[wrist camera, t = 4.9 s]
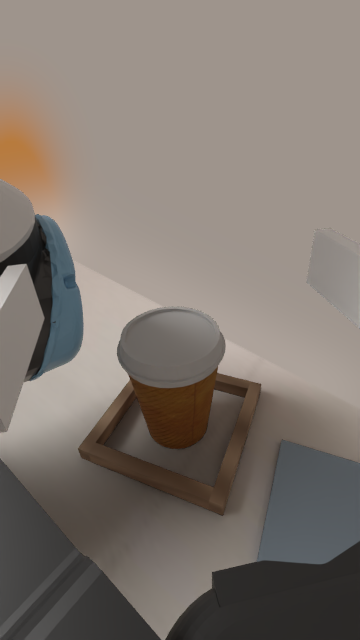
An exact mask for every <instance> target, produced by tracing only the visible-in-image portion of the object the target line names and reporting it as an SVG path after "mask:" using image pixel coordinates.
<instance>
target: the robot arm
mask: <svg viewBox="0 0 360 640" xmlns="http://www.w3.org/2000/svg"><path fill="white" fill-rule="evenodd" d="M307 283H308V284H309V285H310V286H311V287H312V288H313V289H315V290H316V291H317V292H318V293H319V294H320V295H322V296H323V297H324V298H325V299H326V300H327V301H328V302H329V303H331V304H332V305H333V306H334V307H335V308H337V310H339V311H340V312H341V313H342V314H343V315H344V316H346V317H347V318H348V319H349V320H350V321H351V322H352V323H354V324H355V325H356V326H357V327H358V328H359V329H360V243H358V242H356V241H354V240H352V239H350V238H348V237H347V236H345V235H343V234H341V233H339V232H337V231H335V230H333V229H331V228H324V229H317V230H315V233H314V239H313V245H312V251H311V258H310V264H309V270H308V276H307ZM82 340H83V310H82V302H81V296H80V291H79V288H78V286H77V284H76V282H75V269H74V264H73V260H72V257H71V254H70V251H69V248H68V246H67V243H66V240H65V238H64V236H63V234H62V232H61V230H60V228H59V226H58V225H57V223H56V222H55V221H54V220H53V219H51V218H50V217H48V216H44V215H43V216H41V215H39V214H37V215H35V213H34V210H33V206H32V203H31V202H30V200H29V198H28V197H27V196H26V195H25V194H24V193H23V192H21V191H20V190H19V189H17V188H15V187H14V186H12V185H10V184H9V183H7V182H5V181H3V180H2V179H0V433H1V432H7V430H8V427H9V424H10V421H11V418H12V415H13V412H14V409H15V406H16V403H17V400H18V397H19V394H20V391H21V388H22V385H23V382H26V381H32V380H35V379H37V378H39V377H40V376H41V375H42V374H43V373H45V372H47V371H50V370H52V369H54V368H57V367H59V366H61V365H64V364H66V363H68V362H70V361H71V360H72V359H73V358H74V357H75V356H76V355H77V353H78V352H79V350H80V347H81V344H82ZM0 640H161V639H160V638H159V637H158V636H157V634H156V633H155V632H154V631H153V630H152V629H151V627H150V626H149V625H148V624H147V623H146V622H145V620H144V619H143V618H142V617H141V616H140V615H139V613H138V612H137V611H136V610H135V609H134V608H133V606H132V605H131V604H130V603H129V602H128V601H127V599H126V598H125V597H124V596H123V595H122V594H121V593H120V591H119V590H118V589H117V588H116V587H115V586H114V584H113V583H112V582H111V581H110V580H109V579H108V577H107V576H106V575H105V574H104V573H103V572H102V570H101V569H100V568H99V567H98V566H97V565H96V564H95V563H94V562H93V561H92V560H91V559H90V558H89V557H87V556H83V555H82V554H81V553H80V552H79V551H78V550H77V549H76V548H75V546H74V545H73V544H72V543H71V542H70V541H69V539H68V538H67V537H66V536H65V535H64V533H63V532H62V531H61V530H60V529H59V528H58V526H57V525H56V524H55V523H54V522H53V520H52V519H51V518H50V517H49V516H48V514H47V513H46V512H45V511H44V510H43V509H42V507H41V506H40V505H39V504H38V503H37V501H36V500H35V499H34V498H33V497H32V496H31V494H30V493H29V492H28V491H27V490H26V488H25V487H24V486H23V485H22V484H21V483H20V481H19V480H18V479H17V478H16V477H15V475H14V474H13V473H12V472H11V471H10V469H9V468H8V467H7V466H6V465H5V464H4V462H3V461H2V460H1V459H0ZM166 640H360V541H359V542H357V543H356V544H354V545H353V546H351V547H350V548H348V549H347V550H345V551H344V552H342V553H341V554H339V555H338V556H336V557H335V558H333V559H332V560H330V561H329V562H327V563H325V564H308V563H295V562H282V561H269V560H263V561H258V562H254V563H250V564H245V565H241V566H237V567H233V568H228V569H224V570H220V571H215V572H212V589H210V590H209V591H207V592H206V593H204V594H203V595H201V596H200V597H199V598H198V599H197V600H195V601H194V602H193V603H192V604H191V605H190V606H189V607H188V608H187V609H186V610H185V611H184V613H183V614H182V615H181V616H180V617H179V619H178V620H177V622H176V623H175V624H174V626H173V627H172V629H171V630H170V632H169V634H168V636H167V638H166Z"/></svg>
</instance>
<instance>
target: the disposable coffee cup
mask: <svg viewBox="0 0 360 640" xmlns="http://www.w3.org/2000/svg"><path fill="white" fill-rule="evenodd" d="M224 353H225V340H224V337H223V335H222V333H221V332H220V330H219V327H218V325H217V323H216V322H215V321H214V320H213V318H211V317H210V316H209V315H207V314H205V313H203V312H201V311H198V310H195V309H192V308H186V307H163V308H157V309H154V310H150V311H147V312H145V313H143V314H141V315H138V316H137V317H135V318H134V319H133V320H131V321H130V322H129V323H128V324H127V325H126V326H125V328H124V329H123V331H122V334H121V339H120V341H119V344H118V347H117V356H118V360H119V362H120V364H121V366H122V368H123V369H124V370H125V371H126V372H127V373H128V375H129V377H130V380H131V382H132V386H133V389H134V391H135V394H136V396H137V399H138V402H139V404H140V407H141V410H142V413H143V415H144V418H145V420H146V423H147V426H148V429H149V432H150V434H151V436H152V438H153V439H154V440H155V441H156V442H157V443H159V444H160V445H162V446H164V447H167V448H172V449H181V448H186V447H189V446H191V445H193V444H195V443H197V442H198V441H199V440H200V439H201V438H202V437H203V436H204V434H205V432H206V429H207V424H208V419H209V413H210V408H211V403H212V397H213V391H214V386H215V381H216V375H217V370H218V365H219V363H220V362H221V360H222V358H223V356H224Z"/></svg>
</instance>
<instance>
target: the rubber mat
mask: <svg viewBox="0 0 360 640" xmlns="http://www.w3.org/2000/svg"><path fill="white" fill-rule="evenodd" d="M359 541H360V463H358V462H354V461H351V460H348V459H344V458H341V457H338V456H334V455H331V454H328V453H325V452H321V451H318V450H315V449H311V448H308V447H305V446H302V445H298V444H295V443H292V442H288V441H285V440H282V441H281V446H280V451H279V456H278V461H277V466H276V471H275V475H274V480H273V485H272V490H271V495H270V500H269V505H268V510H267V514H266V519H265V524H264V529H263V534H262V539H261V544H260V549H259V553H258V558H257V562H258V561H263V560H269V561H282V562H295V563H308V564H325V563H327V562H329V561H330V560H332V559H333V558H335V557H336V556H338V555H339V554H341V553H342V552H344V551H345V550H347V549H348V548H350V547H351V546H353V545H354V544H356V543H357V542H359Z"/></svg>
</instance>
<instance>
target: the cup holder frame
mask: <svg viewBox="0 0 360 640" xmlns="http://www.w3.org/2000/svg"><path fill="white" fill-rule="evenodd" d="M214 389H216V390H219V391H223V392H227V393H230V394H234V395H238V396H241V397H245V399H244V402H243V405H242V408H241V411H240V413H239V416H238V419H237V422H236V425H235V428H234V431H233V433H232V436H231V439H230V442H229V445H228V448H227V451H226V453H225V456H224V459H223V462H222V465H221V468H220V471H219V473H218V476H217V479H216V482H215V485H214V487H212V486H209V485H206V484H204V483H201V482H198V481H196V480H193V479H191V478H188V477H185V476H183V475H180V474H177V473H175V472H172V471H170V470H167V469H164V468H162V467H159V466H156V465H154V464H151V463H149V462H146V461H143V460H141V459H138V458H135V457H133V456H130V455H127V454H125V453H122V452H120V451H117V450H114V449H112V448H109V447H106V446H104V443H105V442H106V440H107V439H108V437H109V436H110V435H111V433H112V432H113V430H114V429H115V427H116V426H117V424H118V423H119V422H120V420H121V419H122V417H123V416H124V414H125V413H126V412H127V410H128V409H129V407H130V406H131V404H132V403H133V401H134V400H135V399H136V397H137V396H136V394H135V391H134V389H133V386H132V382H131V380H129V382H128V383H127V384H126V386H125V387H124V388H123V390H122V391H121V392H120V394H119V395H118V396H117V398H116V399H115V400H114V402H113V403H112V404H111V406H110V407H109V408H108V410H107V411H106V412H105V413H104V415H103V416H102V417H101V419H100V420H99V421H98V423H97V424H96V425H95V427H94V428H93V429H92V431H91V432H90V433H89V435H88V436H87V437H86V439H85V440H84V441H83V443H82V444H81V445H80V447H79V448H78V450H79V453H80V456H81V458H83V459H85V460H88V461H90V462H93V463H95V464H98V465H100V466H102V467H105V468H107V469H110V470H112V471H115V472H117V473H120V474H122V475H125V476H127V477H129V478H132V479H134V480H137V481H139V482H142V483H144V484H147V485H149V486H151V487H154V488H156V489H159V490H161V491H164V492H166V493H169V494H171V495H174V496H176V497H178V498H181V499H183V500H186V501H188V502H191V503H193V504H196V505H198V506H201V507H203V508H205V509H208V510H210V511H213V512H215V513H218V514H220V515H223V513H224V510H225V507H226V503H227V500H228V497H229V494H230V490H231V487H232V484H233V481H234V477H235V474H236V471H237V467H238V464H239V461H240V458H241V454H242V451H243V448H244V445H245V441H246V438H247V435H248V431H249V428H250V425H251V422H252V418H253V415H254V412H255V409H256V405H257V402H258V399H259V395H260V390H261V384H259V383H255V382H251V381H247V380H243V379H239V378H235V377H231V376H227V375H223V374H219V373H217V375H216V381H215V386H214Z"/></svg>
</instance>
